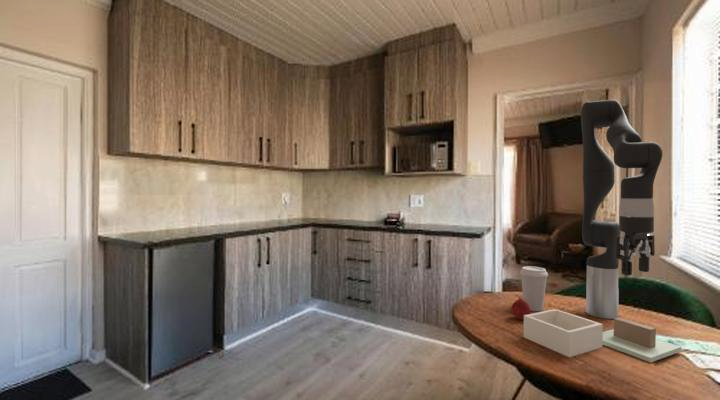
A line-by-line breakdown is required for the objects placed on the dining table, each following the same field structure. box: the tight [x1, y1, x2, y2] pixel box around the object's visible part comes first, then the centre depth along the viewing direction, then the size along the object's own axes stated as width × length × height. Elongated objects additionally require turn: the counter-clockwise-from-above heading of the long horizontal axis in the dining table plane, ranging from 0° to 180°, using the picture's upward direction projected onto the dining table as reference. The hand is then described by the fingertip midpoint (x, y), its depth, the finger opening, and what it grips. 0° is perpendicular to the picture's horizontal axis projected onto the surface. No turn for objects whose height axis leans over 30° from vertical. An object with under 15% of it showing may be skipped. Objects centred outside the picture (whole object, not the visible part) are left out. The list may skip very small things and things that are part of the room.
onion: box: [511, 296, 531, 321], centre depth 118 cm, size 6×6×8 cm
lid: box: [602, 316, 682, 363], centre depth 97 cm, size 15×15×7 cm
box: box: [523, 308, 604, 358], centre depth 99 cm, size 14×14×7 cm
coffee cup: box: [519, 265, 549, 312], centre depth 130 cm, size 10×10×15 cm
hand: (635, 273), depth 97 cm, fingers open, 8 cm apart
